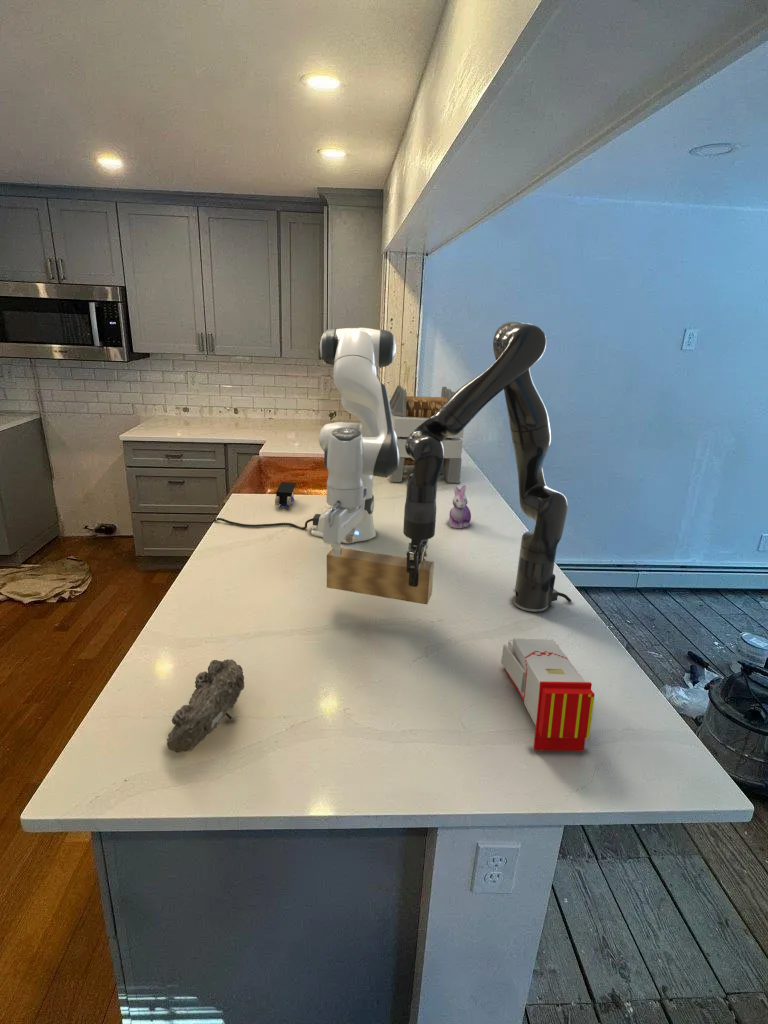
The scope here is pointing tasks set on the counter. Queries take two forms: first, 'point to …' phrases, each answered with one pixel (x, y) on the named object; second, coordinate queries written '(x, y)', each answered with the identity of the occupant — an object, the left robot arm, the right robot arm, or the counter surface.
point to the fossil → (206, 705)
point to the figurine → (459, 509)
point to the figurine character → (285, 494)
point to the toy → (550, 693)
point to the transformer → (411, 415)
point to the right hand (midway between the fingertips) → (416, 580)
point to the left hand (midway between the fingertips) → (343, 548)
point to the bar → (378, 575)
